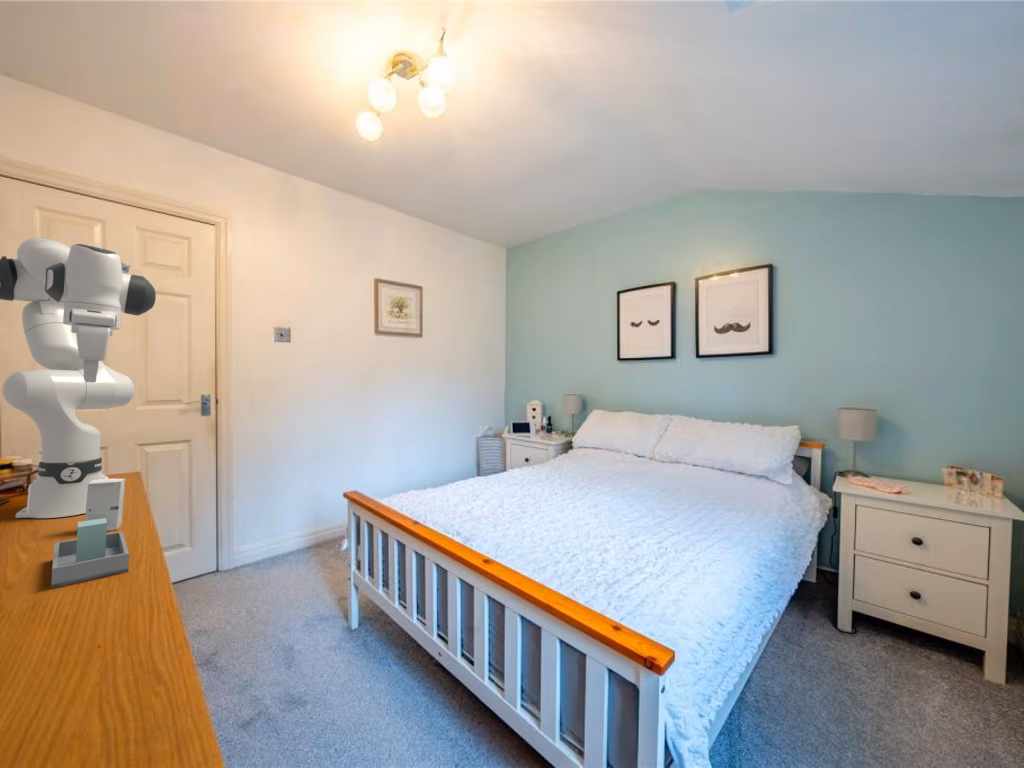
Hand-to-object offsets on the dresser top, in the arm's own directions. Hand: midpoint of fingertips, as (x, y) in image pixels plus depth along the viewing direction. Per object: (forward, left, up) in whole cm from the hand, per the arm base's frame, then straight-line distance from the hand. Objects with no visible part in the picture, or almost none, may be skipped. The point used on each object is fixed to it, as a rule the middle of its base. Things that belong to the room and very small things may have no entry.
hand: (89, 381), depth 89 cm
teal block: (+13, +1, -36) cm, 38 cm away
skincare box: (-12, +4, -37) cm, 39 cm away
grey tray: (+13, +1, -37) cm, 39 cm away
